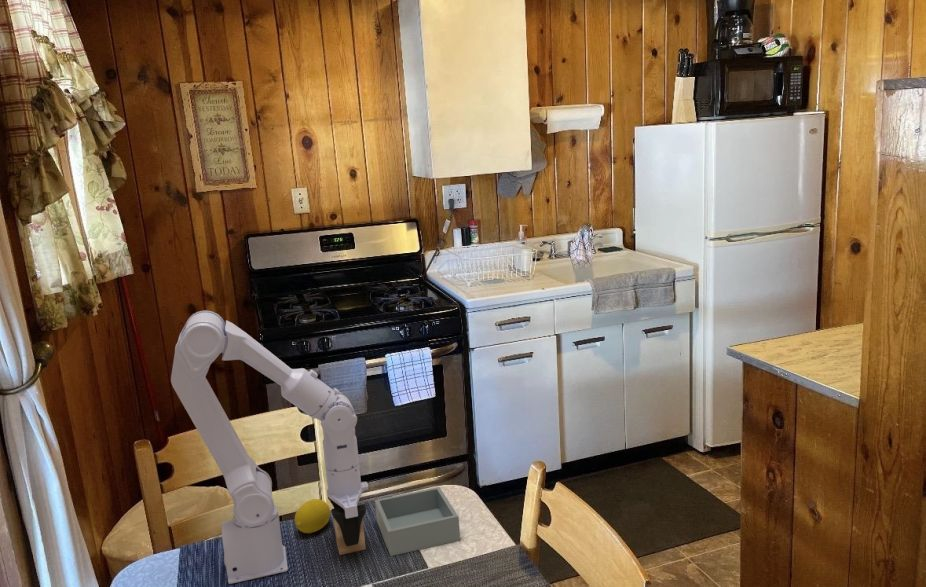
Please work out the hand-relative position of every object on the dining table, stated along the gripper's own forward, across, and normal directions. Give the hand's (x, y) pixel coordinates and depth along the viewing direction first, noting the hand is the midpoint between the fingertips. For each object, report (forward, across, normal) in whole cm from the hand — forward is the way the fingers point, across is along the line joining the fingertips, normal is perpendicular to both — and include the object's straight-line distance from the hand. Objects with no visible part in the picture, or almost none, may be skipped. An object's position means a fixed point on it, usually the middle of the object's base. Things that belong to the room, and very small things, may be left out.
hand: (349, 537), depth 124 cm
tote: (+2, 0, -12) cm, 12 cm away
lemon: (-1, +11, +2) cm, 12 cm away
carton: (+2, 0, 0) cm, 2 cm away
